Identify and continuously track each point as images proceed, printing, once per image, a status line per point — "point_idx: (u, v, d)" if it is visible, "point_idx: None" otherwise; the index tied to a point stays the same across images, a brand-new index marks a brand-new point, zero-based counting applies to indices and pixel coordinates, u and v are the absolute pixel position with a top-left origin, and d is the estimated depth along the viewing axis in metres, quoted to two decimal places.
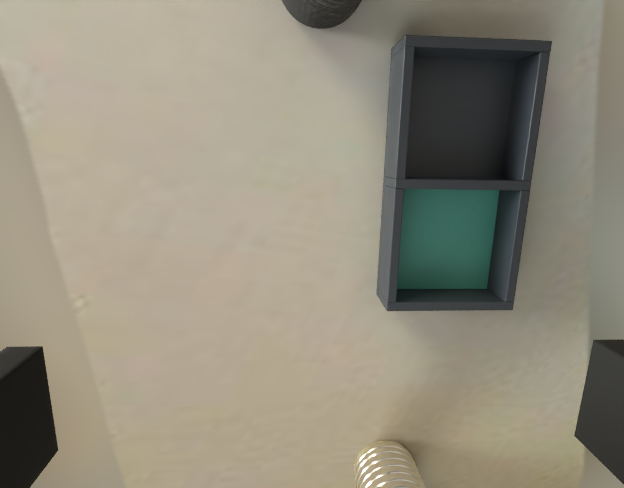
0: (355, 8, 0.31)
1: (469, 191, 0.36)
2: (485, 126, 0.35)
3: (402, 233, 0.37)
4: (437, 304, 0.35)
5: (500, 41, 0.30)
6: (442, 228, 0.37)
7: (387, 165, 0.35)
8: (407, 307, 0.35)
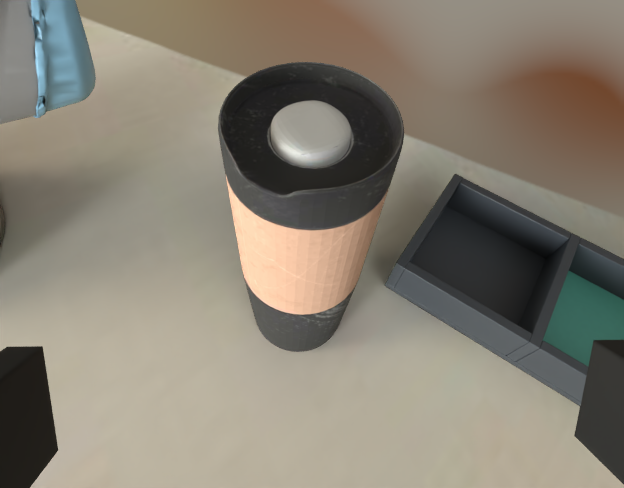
0: None
1: None
2: (491, 249, 0.36)
3: None
4: None
5: (438, 203, 0.34)
6: (585, 332, 0.32)
7: (497, 346, 0.31)
8: None
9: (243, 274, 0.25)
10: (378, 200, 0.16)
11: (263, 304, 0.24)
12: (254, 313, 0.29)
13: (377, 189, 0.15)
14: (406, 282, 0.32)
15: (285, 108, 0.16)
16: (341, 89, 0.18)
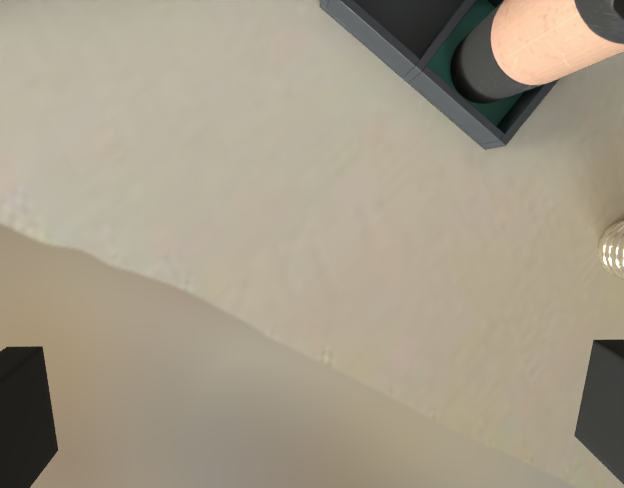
0: None
1: (463, 19, 0.39)
2: None
3: None
4: (532, 103, 0.38)
5: None
6: None
7: (398, 68, 0.39)
8: (516, 127, 0.38)
9: (489, 47, 0.32)
10: None
11: (502, 74, 0.32)
12: (465, 73, 0.37)
13: None
14: (333, 5, 0.37)
15: None
16: None
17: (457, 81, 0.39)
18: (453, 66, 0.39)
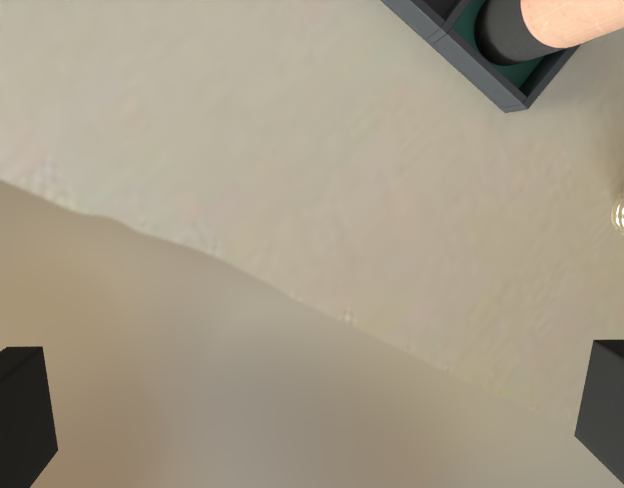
0: None
1: None
2: None
3: None
4: (556, 65, 0.38)
5: None
6: None
7: (421, 30, 0.39)
8: (539, 90, 0.38)
9: (518, 9, 0.32)
10: None
11: (530, 37, 0.32)
12: (490, 35, 0.37)
13: None
14: None
15: None
16: None
17: (481, 43, 0.39)
18: (477, 27, 0.39)
